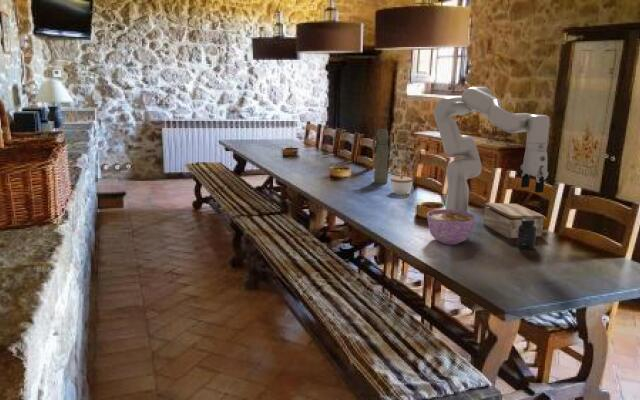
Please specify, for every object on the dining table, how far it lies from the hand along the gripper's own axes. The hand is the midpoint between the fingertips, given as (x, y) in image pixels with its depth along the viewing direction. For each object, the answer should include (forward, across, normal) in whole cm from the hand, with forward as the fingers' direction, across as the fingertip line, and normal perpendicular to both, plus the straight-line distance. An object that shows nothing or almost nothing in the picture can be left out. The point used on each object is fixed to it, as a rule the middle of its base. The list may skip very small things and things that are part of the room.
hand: (531, 189), depth 201 cm
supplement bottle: (+24, 0, 0) cm, 24 cm away
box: (+24, +23, -7) cm, 34 cm away
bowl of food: (+24, +12, +28) cm, 39 cm away
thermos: (+24, +134, +22) cm, 138 cm away
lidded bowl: (+24, +102, +19) cm, 107 cm away
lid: (+16, +23, -7) cm, 29 cm away
